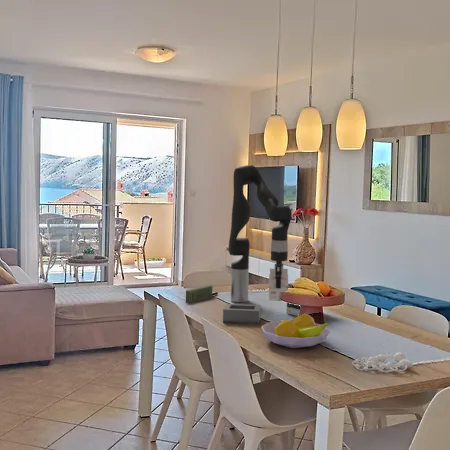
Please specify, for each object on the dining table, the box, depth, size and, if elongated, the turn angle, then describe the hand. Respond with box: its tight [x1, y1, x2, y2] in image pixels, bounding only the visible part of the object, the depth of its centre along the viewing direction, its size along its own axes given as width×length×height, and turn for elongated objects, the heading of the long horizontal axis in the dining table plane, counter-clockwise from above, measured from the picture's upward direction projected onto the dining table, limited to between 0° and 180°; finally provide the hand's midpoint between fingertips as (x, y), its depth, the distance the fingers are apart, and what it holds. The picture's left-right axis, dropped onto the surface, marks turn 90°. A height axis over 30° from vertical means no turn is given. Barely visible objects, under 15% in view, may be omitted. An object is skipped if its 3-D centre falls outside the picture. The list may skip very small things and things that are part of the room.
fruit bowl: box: [261, 313, 331, 349], centre depth 220 cm, size 28×27×11 cm
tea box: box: [285, 281, 318, 317], centre depth 270 cm, size 15×10×15 cm
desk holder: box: [222, 303, 262, 325], centre depth 256 cm, size 12×16×6 cm
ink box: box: [268, 268, 289, 302], centre depth 256 cm, size 9×5×15 cm, turn 85°
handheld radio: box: [185, 284, 219, 304], centre depth 301 cm, size 7×3×25 cm
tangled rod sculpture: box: [351, 351, 414, 373], centre depth 193 cm, size 19×14×4 cm
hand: (278, 286), depth 256 cm, fingers closed on ink box, 5 cm apart
